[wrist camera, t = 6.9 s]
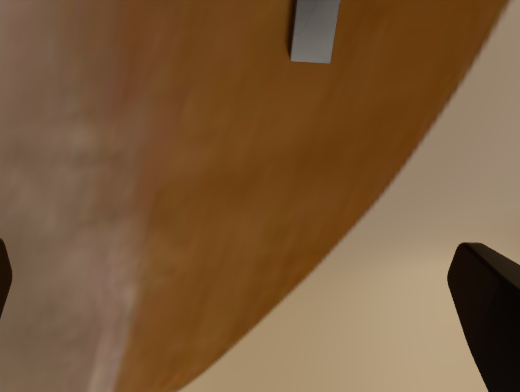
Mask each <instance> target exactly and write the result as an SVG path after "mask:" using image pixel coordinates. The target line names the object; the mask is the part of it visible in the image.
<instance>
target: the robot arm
mask: <svg viewBox="0 0 520 392" xmlns="http://www.w3.org/2000/svg"><path fill="white" fill-rule="evenodd" d="M447 281H448V286H449V289H450V292H451V295H452V298H453V301H454V304H455V307H456V310H457V313H458V316H459V319H460V323H461V326H462V328H463V332H464V335H465V338H466V340H467V343H468V346H469V349H470V351H471V354H472V356H473V358H474V361H475V363H476V365H477V367H478V369H479V372H480V374H481V376H482V378H483V381H484V383H485V385H486V387H487V389H488V392H520V265H519V264H517V263H515V262H514V261H512V260H510V259H508V258H507V257H505V256H503V255H501V254H499V253H498V252H496V251H494V250H493V249H491V248H489V247H487V246H486V245H484V244H482V243H467V242H466V243H465V242H464V243H461V244H459V246H458V247H457V249H456V252H455V254H454V257H453V260H452V263H451V266H450V268H449V271H448V276H447ZM11 283H12V269H11V265H10V262H9V258H8V254H7V250H6V247H5V244H4V241H3V240H2V239H1V238H0V318H1V315H2V311H3V308H4V305H5V302H6V299H7V296H8V293H9V289H10V286H11Z"/></svg>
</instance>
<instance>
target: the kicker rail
mask: <svg viewBox="0 0 520 392" xmlns="http://www.w3.org/2000/svg"><path fill="white" fill-rule="evenodd" d="M339 2H340V0H295V9H294V18H293V27H292V37H291V46H290V55H289V58H290V61H300V62H317V63H330V60H331V53H332V47H333V41H334V34H335V28H336V22H337V15H338V9H339Z"/></svg>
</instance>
